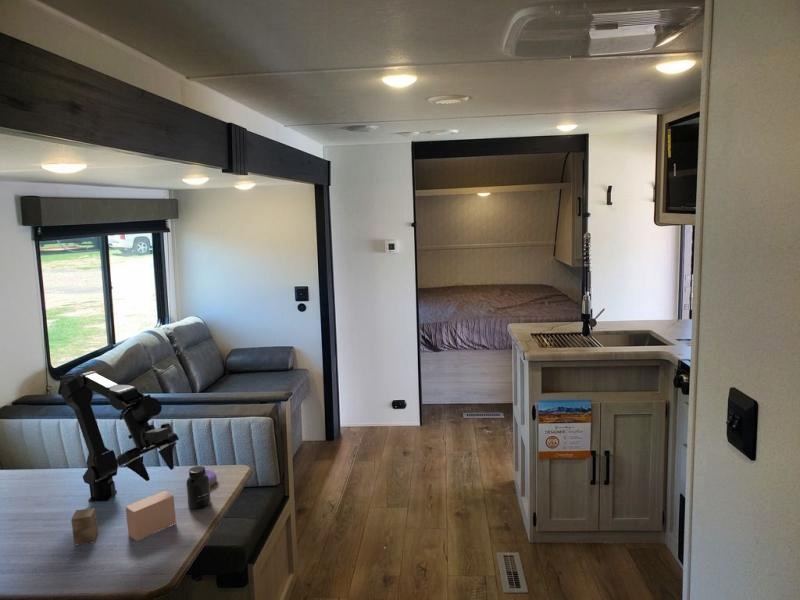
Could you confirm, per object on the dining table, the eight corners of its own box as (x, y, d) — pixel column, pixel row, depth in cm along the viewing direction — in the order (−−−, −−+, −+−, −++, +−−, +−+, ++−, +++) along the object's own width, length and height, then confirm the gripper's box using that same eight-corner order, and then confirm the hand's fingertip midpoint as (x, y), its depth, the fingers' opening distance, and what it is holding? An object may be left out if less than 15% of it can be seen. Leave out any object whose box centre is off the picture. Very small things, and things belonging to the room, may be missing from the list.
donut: (186, 479, 211) (188, 466, 211) (215, 480, 214) (217, 467, 214) (186, 492, 202) (188, 478, 201) (215, 493, 205) (217, 479, 204)
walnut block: (74, 545, 173) (71, 519, 172) (79, 536, 178) (76, 510, 177) (93, 542, 174) (90, 516, 173) (98, 533, 179) (95, 507, 178)
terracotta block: (128, 535, 178) (125, 506, 176) (167, 518, 187) (164, 490, 185) (137, 541, 175) (133, 512, 173) (176, 523, 184) (173, 495, 182)
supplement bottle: (204, 511, 190) (201, 474, 188) (184, 509, 192) (180, 473, 189) (215, 500, 197) (212, 465, 195) (195, 498, 198) (192, 463, 196)
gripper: (129, 426, 173) (152, 477, 171) (179, 408, 190) (200, 454, 188) (106, 440, 178) (128, 490, 176) (156, 422, 195) (177, 467, 193)
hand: (160, 474), depth 183 cm, fingers open, 9 cm apart
